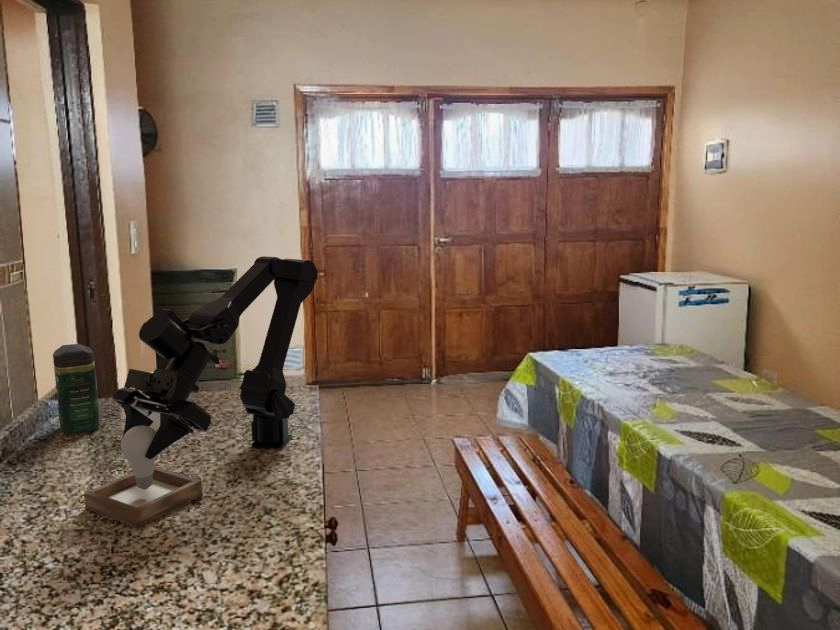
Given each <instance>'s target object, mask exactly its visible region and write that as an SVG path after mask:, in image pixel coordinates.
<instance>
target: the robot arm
mask: <svg viewBox="0 0 840 630" xmlns="http://www.w3.org/2000/svg"><path fill="white" fill-rule="evenodd" d="M318 272H319V271H318V268H317V267H316V265H315V263H314V262H313V261H312V260H310V259H297V258H284V259H282V258H279V257H277V256H267V255H265V256H264V255H263V256H260V257H257V258H255V261H254V263H253V265H252V266H251V267H250V268H248V269H247V270H246V271H245V272H244V273H243V274H242V275H241V276H240V278H239V279H237V280H236V281H235V283H234V284H233V285H232V286H230V287H229V289H228V290H226V291H225V292H224V293H223V294H222V296H221V297H219V298H218V299H216V300H213V301H210V302H208V303H206V304H204V305H202V306H201V307H199V308H198V309H196V310H195V311H194V312H192V313H191V314H190V315H189V317H188V318H186V319H184V320H181V319H180V318H179V317H178V316H177V313H175V312H174V311H173V310H172V309H168V308H167V309H165V308H162V309H161V311H159V313H158V314H155V315H153V316H151V317H150V318H149V319H147V320H146V321H144V322H143V324H141V327H140V329H139V332H138V337H139V340H141V342H143V343H144V344H146V346H148V347H149V348H150V349H152V350H153V351H154V352H155V353H157V354H158V355H159V356H160V357H162V359H164V360H169V363H168V364H167V366H166V368H163V367H160V368H157V367H156V368H155V369H154V370H153V371H152V372H153V373H150V372H148V371H144V370H143V371H142V370H138V369H134V368H128V372H127V375H126V379H125V383H124V387H121V388H118V389H117V391H116V392H115V394H114V395H113V397H112V400H113V401H114V402H115V403H117V404H118V405H120V408H122V409H123V412H124V415H125V421H124V427H123V432H122V436H121V439H122V438H123V436H124V435H125V433H126V432H127V431H128V430H130V429H131V428H133V427H136V426H141V425H143V426H148V427H149V426H150V425H151V424H152V423H153V422H154V421H153V420H151V419H150V418H148V417H147V416H149V415H151V414H152V412H156V413H160V427H159V429H158V431H156V434H155V436H154V438H153V440H152V442H151V444H150V446H149V448H148V450H147V453H146V455H145V457H146V458H147V459H150V460H151V459H152V458H154V457H155V456H156V455H157V456H158V455H159V454H161V453H162V452H164V450H166V449H168V447H170V446H171V445H173V444H175V443H176V442H177V441H178V440H181V439H183V437H185V436H187V435H188V434H193V433H194V430H195V431H199V432H200V431H201V432H205V433H207V431H208V429H209V427H210V425H211V424H212V417H211V415H212V414H210V413H209V412H207V410H205V409H204V408H202V407H201V406H200V405H198V404H197V403H196V402H194V401H188V399H189V397H190V396H191V393H195V394H197V393H198V392H199V390H200V387H199V386H198V385H197V383H198V381H199V380H200V379H201V376H202V374H203V373H204V370H205V369H206V368H207V366H208V364H211V365H216V366H217V365H220V357H219V356H218V350H217V349H216V348H209V347H208V346H206V345H205V344H204V343H208V344H213V345H224V344H226V343H227V342H229V340H230V339H231V338H232V337H233V335H234V334H235V331H237V329H238V328H239V325H240V317H241V316H242V314H243V313H244V312H245V311H246V310H247V309H248V308H249V307H250V306H251V305H252V303H253V302H255V301H256V300H257V298H258V297H259V296H260V295H261V294H262V293H263V292H264V291H265V290H266V289H267V288H268V287H269V286H270V284H271V283H272V282H273V287H274V289H275V293H276V300H275V304H274V309H273V312H272V315H271V318H270V322H269V326H268V328H267V333H266V336H265V339H264V343H263V346H262V350H261V354H260V357H259V361H258V363H257V365H256V366H255V367H254V368H253V369H252V370H250V369H246V370H245V372H244V374H243V378H242V383H241V385H240V386H239V387H238V388H239V390H240V393H239V395H240V396H239V397H240V398H239V399H240V400H241V402H242V405H243V406H244V409H245V411H246V414H248V415H253V416H252V421H251V423H250V426H251V428H250V429H251V441H253V442H252V443H251V444H250V446H251V448H263V449H282V448H283V447H285V445H287V443H288V442H289V441H290V440H291V439H292V435H291V434H289V419H290V417H291V415H293V414H294V411H295V405H296V404H295V402H294V401H292V400H291V399H290V398H289V397H288V396H287V395H286V389H287V382H286V379H285V374H284V366H285V363H286V359H287V355H288V351H289V348H290V344H291V341H292V337H293V333H294V330H295V326H296V322H297V319H298V315H299V312H300V308H301V305H302V303H303V302H304V301H305V300H306V299H307V298H308V297H309V296H310V295H311V294H312V292H313V289H314V287H315V284H316V283H317V280H318V274H319V273H318ZM141 391H142V393H143V394H144V395H143V394H142V393H141ZM145 395H146V396H148V397H150V398H147V397H146V396H145ZM157 406H158V407H157ZM166 409H167V410H166ZM192 428H193V429H194V430H193V429H192ZM119 446H120V447H119V450H120V451H121V444H120V445H119ZM157 456H156V457H157Z"/></svg>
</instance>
